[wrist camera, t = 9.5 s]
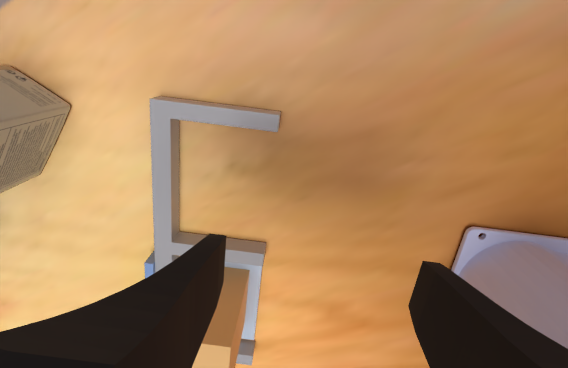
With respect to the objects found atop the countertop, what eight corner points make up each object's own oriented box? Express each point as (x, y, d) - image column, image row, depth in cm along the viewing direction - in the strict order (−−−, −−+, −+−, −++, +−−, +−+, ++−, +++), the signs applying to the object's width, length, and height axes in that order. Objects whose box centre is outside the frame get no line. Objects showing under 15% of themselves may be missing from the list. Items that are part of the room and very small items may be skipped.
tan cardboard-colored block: (249, 269, 24) (230, 347, 18) (244, 321, 26) (225, 409, 19) (196, 263, 24) (158, 338, 18) (195, 315, 26) (160, 400, 19)
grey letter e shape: (280, 111, 20) (279, 115, 18) (254, 349, 27) (251, 368, 26) (150, 94, 20) (137, 97, 18) (158, 337, 27) (148, 355, 26)
